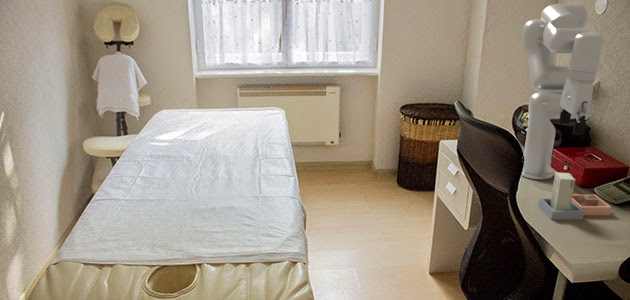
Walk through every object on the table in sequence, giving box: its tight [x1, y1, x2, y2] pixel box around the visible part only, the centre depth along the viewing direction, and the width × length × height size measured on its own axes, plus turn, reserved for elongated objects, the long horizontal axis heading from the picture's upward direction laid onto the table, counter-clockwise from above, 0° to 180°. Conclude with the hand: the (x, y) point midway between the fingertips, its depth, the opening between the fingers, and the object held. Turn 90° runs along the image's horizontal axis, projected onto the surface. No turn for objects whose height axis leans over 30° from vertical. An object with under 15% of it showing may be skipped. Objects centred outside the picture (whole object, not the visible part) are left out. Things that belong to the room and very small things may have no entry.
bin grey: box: [537, 197, 585, 221], centre depth 156 cm, size 10×10×4 cm
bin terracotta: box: [572, 193, 612, 216], centre depth 159 cm, size 10×10×4 cm
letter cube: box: [578, 193, 598, 206], centre depth 159 cm, size 4×4×4 cm
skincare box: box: [550, 171, 576, 210], centre depth 155 cm, size 6×4×12 cm
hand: (570, 128), depth 156 cm, fingers open, 9 cm apart
